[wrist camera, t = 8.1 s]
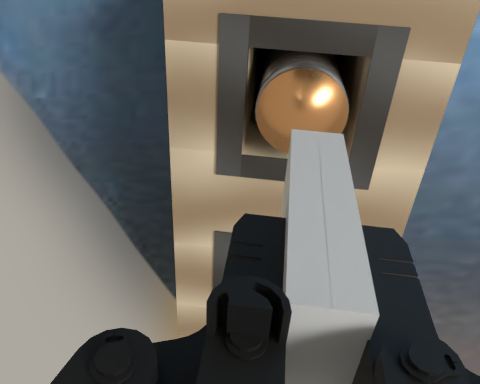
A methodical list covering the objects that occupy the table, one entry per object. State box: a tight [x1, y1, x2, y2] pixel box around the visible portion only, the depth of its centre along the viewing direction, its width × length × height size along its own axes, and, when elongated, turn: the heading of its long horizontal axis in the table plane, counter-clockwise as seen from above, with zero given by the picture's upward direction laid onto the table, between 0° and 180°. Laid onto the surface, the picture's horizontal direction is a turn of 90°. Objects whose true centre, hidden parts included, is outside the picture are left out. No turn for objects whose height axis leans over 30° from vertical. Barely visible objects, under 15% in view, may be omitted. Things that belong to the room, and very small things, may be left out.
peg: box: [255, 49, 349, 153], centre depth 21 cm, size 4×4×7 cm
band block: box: [163, 0, 480, 336], centre depth 24 cm, size 22×12×7 cm, turn 177°
